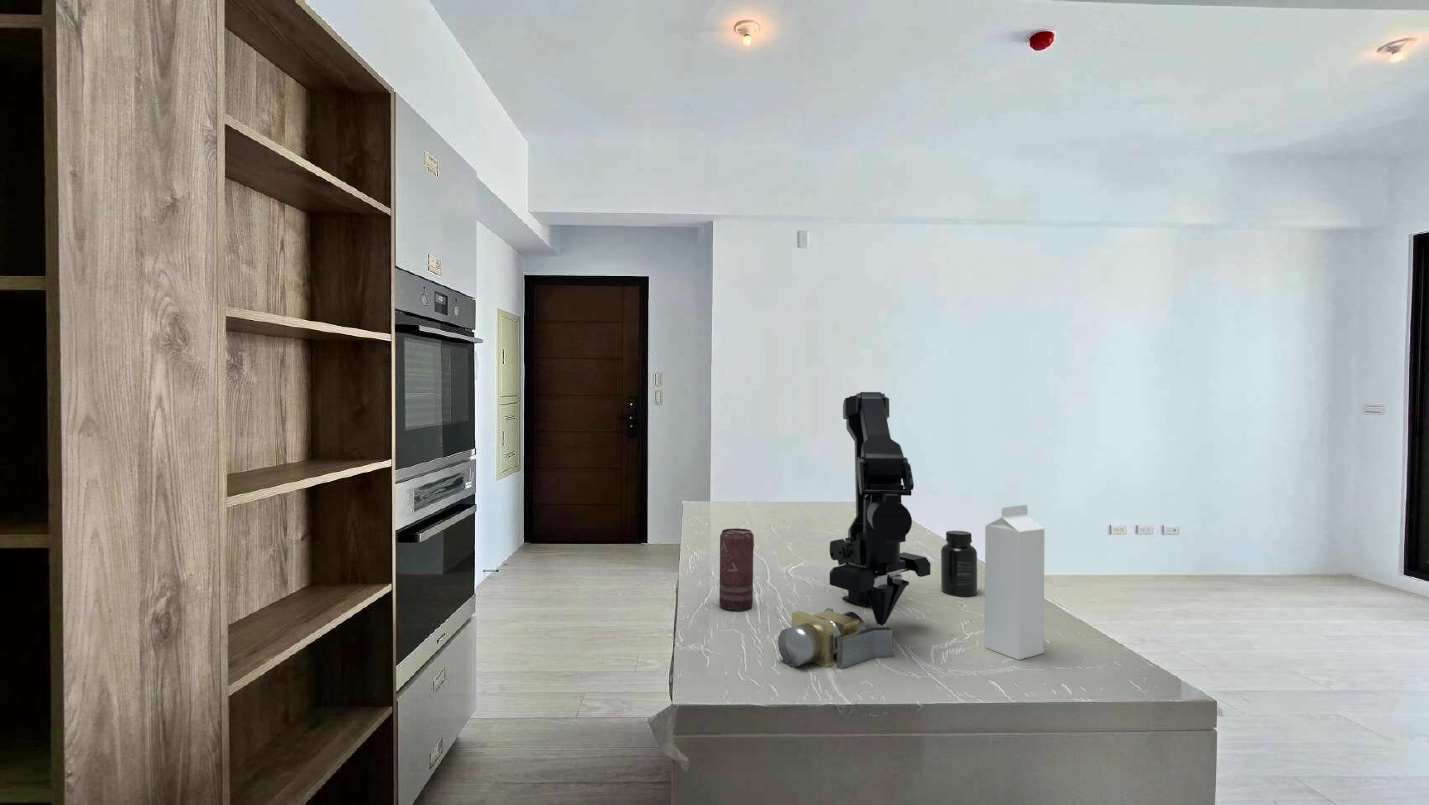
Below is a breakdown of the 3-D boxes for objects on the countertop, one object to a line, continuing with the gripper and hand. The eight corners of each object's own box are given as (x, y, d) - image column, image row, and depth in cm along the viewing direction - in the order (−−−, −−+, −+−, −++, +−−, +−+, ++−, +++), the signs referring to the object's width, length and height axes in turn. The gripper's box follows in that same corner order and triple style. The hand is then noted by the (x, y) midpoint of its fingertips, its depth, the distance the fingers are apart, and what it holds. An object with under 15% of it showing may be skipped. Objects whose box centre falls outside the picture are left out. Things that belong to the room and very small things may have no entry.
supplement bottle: (980, 591, 134) (980, 531, 134) (973, 599, 128) (973, 537, 128) (945, 586, 137) (945, 528, 137) (936, 593, 132) (937, 533, 132)
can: (751, 612, 118) (752, 534, 118) (716, 610, 120) (717, 532, 120) (756, 603, 124) (756, 528, 124) (722, 600, 126) (723, 526, 126)
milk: (1044, 654, 100) (1046, 507, 100) (1018, 661, 97) (1020, 510, 97) (1008, 641, 105) (1010, 502, 105) (983, 647, 102) (985, 504, 102)
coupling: (828, 632, 109) (829, 595, 109) (893, 655, 98) (894, 615, 98) (760, 652, 99) (760, 612, 99) (824, 681, 89) (824, 636, 89)
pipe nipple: (837, 640, 105) (837, 607, 105) (867, 651, 100) (868, 616, 100) (803, 652, 99) (803, 617, 99) (833, 664, 95) (833, 627, 95)
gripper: (879, 515, 119) (878, 601, 119) (804, 526, 108) (804, 622, 108) (932, 524, 110) (932, 618, 110) (858, 537, 99) (857, 642, 99)
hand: (880, 624), depth 107 cm, fingers closed
